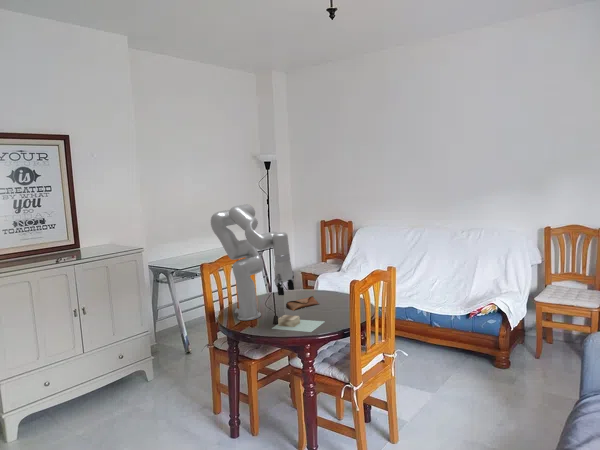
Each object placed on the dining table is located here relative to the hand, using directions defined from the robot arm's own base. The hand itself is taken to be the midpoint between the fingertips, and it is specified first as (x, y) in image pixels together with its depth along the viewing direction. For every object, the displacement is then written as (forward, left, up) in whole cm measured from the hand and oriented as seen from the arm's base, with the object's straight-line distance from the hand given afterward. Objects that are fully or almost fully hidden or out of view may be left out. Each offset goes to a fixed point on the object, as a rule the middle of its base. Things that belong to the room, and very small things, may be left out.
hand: (286, 292), depth 226 cm
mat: (+5, 0, -17) cm, 17 cm away
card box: (0, 0, -16) cm, 16 cm away
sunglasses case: (-9, +31, -17) cm, 36 cm away
